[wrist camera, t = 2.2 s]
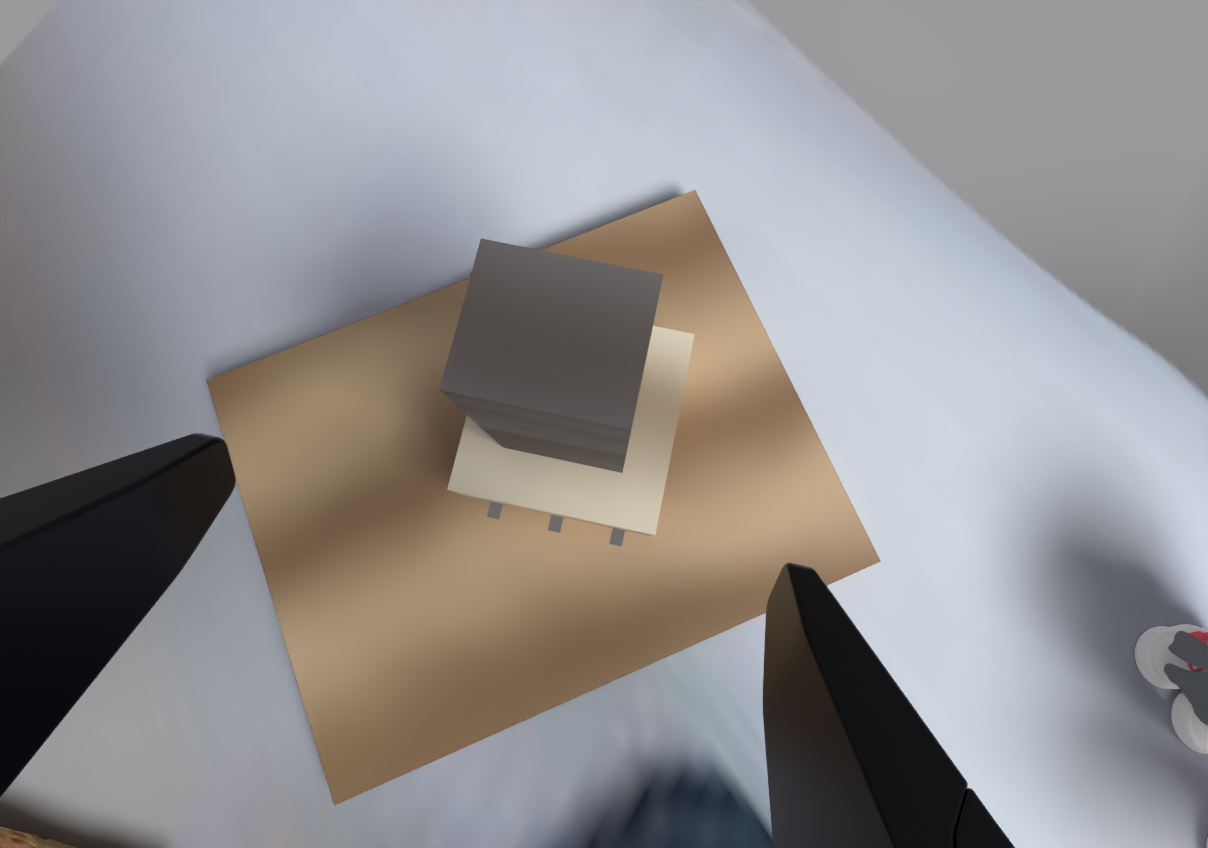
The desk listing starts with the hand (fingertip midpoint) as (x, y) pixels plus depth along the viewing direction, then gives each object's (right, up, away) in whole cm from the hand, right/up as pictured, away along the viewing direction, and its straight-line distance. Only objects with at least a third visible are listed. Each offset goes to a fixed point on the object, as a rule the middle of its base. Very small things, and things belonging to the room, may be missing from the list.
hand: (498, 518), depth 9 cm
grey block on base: (+1, +1, +10) cm, 10 cm away
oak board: (-1, 0, +11) cm, 11 cm away
